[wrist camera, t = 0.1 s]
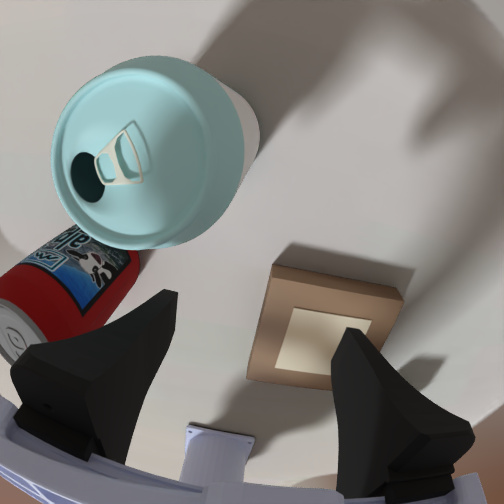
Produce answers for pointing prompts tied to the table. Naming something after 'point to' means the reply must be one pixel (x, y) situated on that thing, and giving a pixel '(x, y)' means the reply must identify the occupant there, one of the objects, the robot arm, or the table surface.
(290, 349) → the walnut base
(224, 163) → the can
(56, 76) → the table surface
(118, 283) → the beverage can
